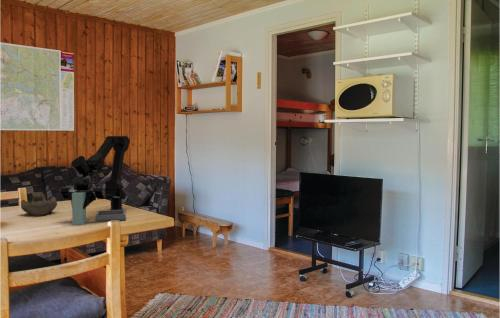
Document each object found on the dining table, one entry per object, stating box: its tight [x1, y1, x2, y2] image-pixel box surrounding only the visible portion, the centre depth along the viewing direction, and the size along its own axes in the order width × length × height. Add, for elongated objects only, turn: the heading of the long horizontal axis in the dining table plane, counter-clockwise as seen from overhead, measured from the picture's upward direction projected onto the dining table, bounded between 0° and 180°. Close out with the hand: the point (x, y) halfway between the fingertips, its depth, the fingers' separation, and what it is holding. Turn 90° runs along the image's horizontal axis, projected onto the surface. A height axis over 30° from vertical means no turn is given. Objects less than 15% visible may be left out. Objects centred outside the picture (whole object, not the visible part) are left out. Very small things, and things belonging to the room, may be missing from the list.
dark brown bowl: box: [20, 191, 58, 217], centre depth 211 cm, size 16×11×15 cm
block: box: [71, 192, 87, 226], centre depth 188 cm, size 4×4×14 cm
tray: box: [94, 209, 126, 223], centre depth 200 cm, size 13×13×3 cm
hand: (78, 208), depth 187 cm, fingers closed on block, 4 cm apart
